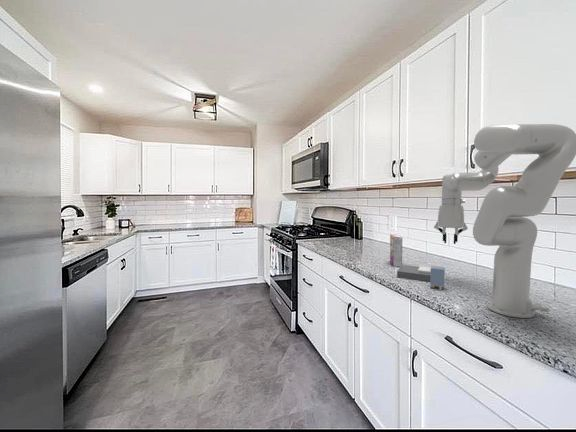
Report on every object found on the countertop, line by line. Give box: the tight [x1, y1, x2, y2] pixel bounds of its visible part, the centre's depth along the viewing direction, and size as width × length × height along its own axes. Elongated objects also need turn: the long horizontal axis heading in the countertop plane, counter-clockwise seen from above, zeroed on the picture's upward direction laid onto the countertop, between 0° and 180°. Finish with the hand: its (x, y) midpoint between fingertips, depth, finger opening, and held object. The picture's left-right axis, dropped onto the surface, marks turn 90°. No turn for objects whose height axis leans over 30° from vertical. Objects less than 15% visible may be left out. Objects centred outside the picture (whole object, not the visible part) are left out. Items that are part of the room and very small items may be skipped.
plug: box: [429, 265, 446, 291], centre depth 115 cm, size 5×4×8 cm
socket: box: [396, 264, 430, 283], centre depth 132 cm, size 16×14×3 cm
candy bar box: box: [389, 233, 403, 268], centre depth 153 cm, size 11×5×16 cm, turn 168°
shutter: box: [418, 264, 437, 273], centre depth 129 cm, size 7×8×2 cm
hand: (449, 242), depth 124 cm, fingers open, 3 cm apart
